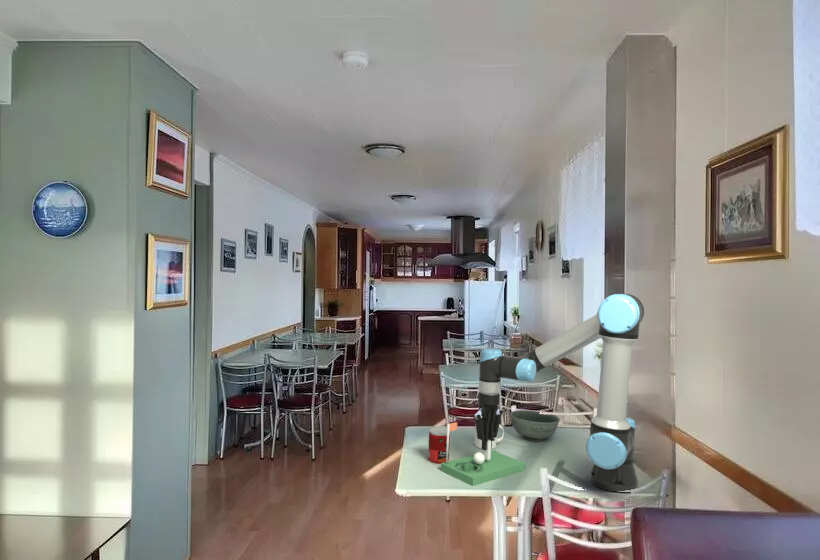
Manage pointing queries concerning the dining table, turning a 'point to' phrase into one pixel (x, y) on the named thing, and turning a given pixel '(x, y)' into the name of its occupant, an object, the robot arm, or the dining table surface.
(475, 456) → the ball
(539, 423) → the bowl
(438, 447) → the canned food
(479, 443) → the mug
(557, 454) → the dining table surface
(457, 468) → the putting mat
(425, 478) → the dining table surface
